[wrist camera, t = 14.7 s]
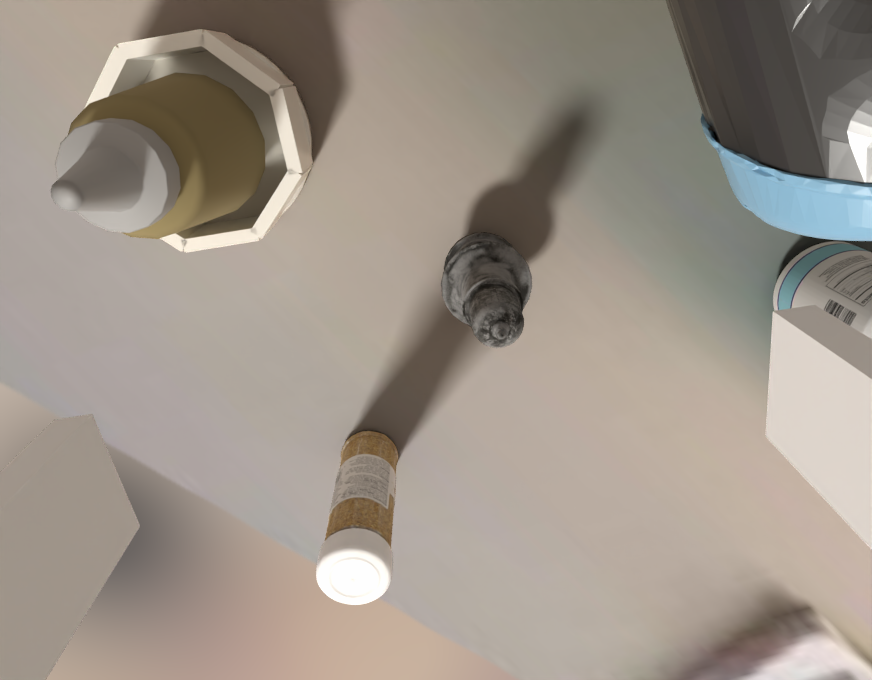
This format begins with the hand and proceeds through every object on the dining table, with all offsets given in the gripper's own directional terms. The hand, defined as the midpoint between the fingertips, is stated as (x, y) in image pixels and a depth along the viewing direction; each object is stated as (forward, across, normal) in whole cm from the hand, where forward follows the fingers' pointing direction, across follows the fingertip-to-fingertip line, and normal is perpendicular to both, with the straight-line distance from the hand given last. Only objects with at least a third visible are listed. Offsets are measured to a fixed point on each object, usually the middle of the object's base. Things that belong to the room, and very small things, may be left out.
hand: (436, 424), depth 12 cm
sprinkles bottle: (+32, -8, -20) cm, 39 cm away
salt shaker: (+32, +3, -7) cm, 33 cm away
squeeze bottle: (+31, -13, +4) cm, 34 cm away
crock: (+32, -13, +4) cm, 34 cm away
